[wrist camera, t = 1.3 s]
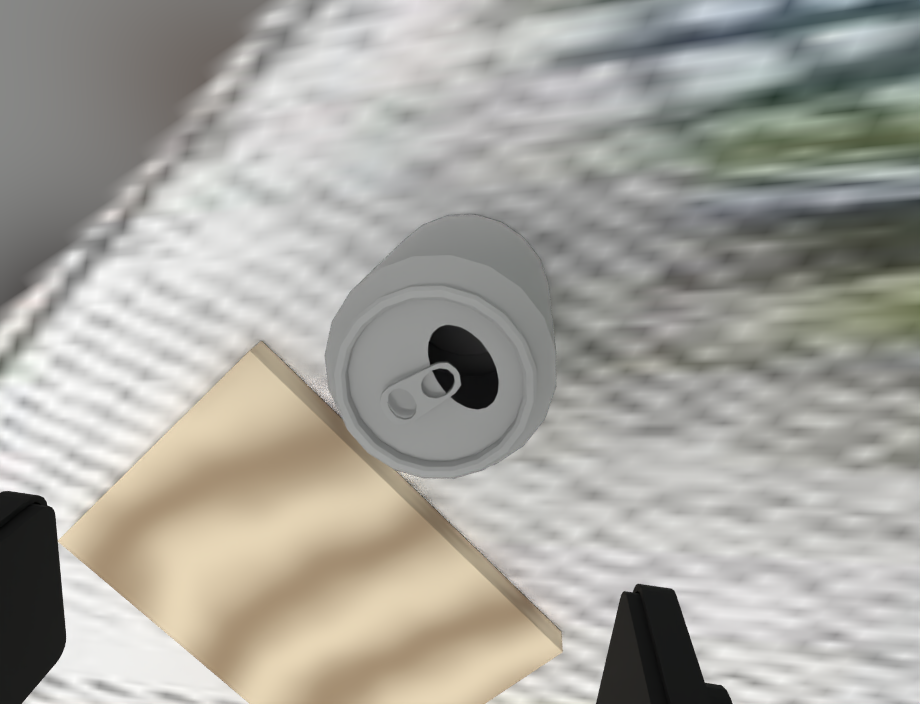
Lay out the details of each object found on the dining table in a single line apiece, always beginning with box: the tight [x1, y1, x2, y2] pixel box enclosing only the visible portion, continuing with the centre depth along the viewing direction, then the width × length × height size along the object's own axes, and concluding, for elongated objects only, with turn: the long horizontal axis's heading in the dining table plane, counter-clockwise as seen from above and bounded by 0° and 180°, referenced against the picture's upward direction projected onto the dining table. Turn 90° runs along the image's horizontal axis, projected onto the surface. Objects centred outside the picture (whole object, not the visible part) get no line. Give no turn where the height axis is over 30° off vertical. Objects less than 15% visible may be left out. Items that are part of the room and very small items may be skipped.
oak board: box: [58, 341, 563, 704], centre depth 37 cm, size 22×16×2 cm
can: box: [325, 215, 556, 478], centre depth 26 cm, size 8×8×12 cm
